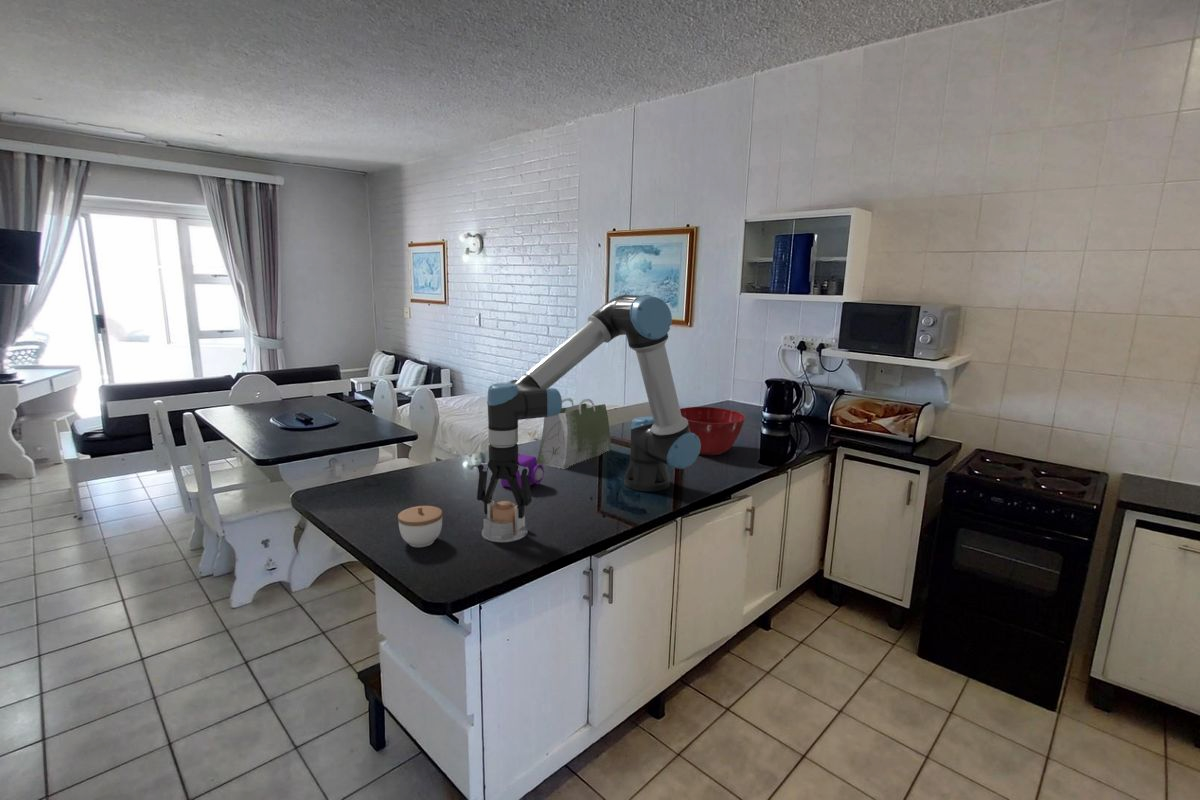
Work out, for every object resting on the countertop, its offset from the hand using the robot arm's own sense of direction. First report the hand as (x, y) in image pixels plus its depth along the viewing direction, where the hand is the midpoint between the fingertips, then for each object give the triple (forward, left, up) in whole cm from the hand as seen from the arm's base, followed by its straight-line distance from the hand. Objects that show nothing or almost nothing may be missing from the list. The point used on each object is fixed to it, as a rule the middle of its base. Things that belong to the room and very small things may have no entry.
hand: (504, 527), depth 149 cm
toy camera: (+9, -36, -2) cm, 37 cm away
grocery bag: (+2, -73, -2) cm, 73 cm away
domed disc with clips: (0, 0, -2) cm, 2 cm away
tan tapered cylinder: (0, 0, -1) cm, 1 cm away
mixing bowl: (-47, -97, -2) cm, 107 cm away
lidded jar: (+18, +11, -2) cm, 21 cm away
